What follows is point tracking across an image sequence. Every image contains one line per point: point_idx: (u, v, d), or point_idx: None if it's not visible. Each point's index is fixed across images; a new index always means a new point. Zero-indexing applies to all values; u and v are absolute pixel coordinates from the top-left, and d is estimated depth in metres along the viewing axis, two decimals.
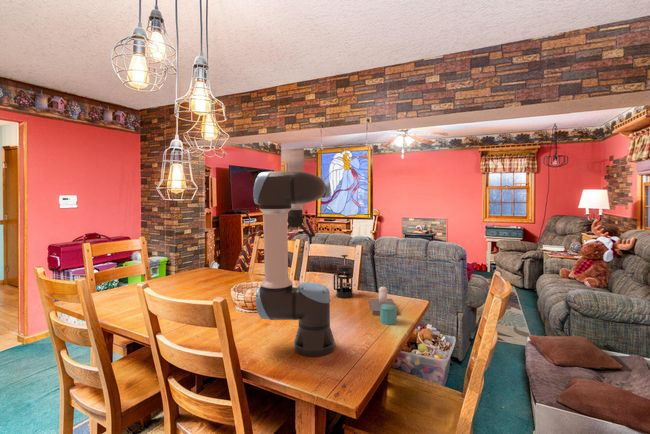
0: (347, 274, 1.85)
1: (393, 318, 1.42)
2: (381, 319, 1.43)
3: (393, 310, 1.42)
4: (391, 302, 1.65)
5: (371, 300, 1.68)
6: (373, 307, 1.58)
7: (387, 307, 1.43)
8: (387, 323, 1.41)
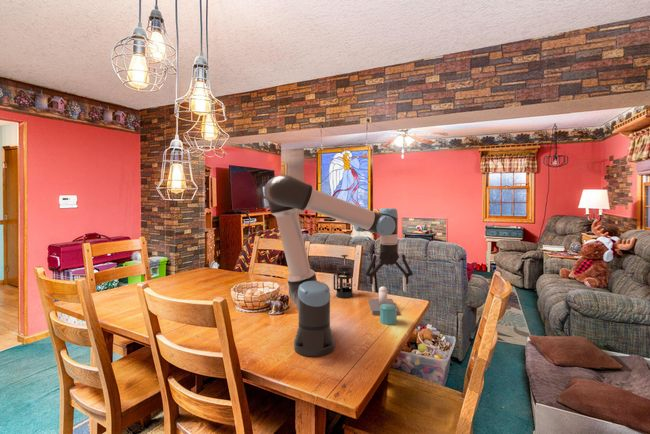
0: (347, 274, 1.85)
1: (393, 318, 1.42)
2: (381, 319, 1.43)
3: (393, 310, 1.42)
4: (391, 302, 1.65)
5: (371, 300, 1.68)
6: (373, 307, 1.58)
7: (387, 307, 1.43)
8: (387, 323, 1.41)
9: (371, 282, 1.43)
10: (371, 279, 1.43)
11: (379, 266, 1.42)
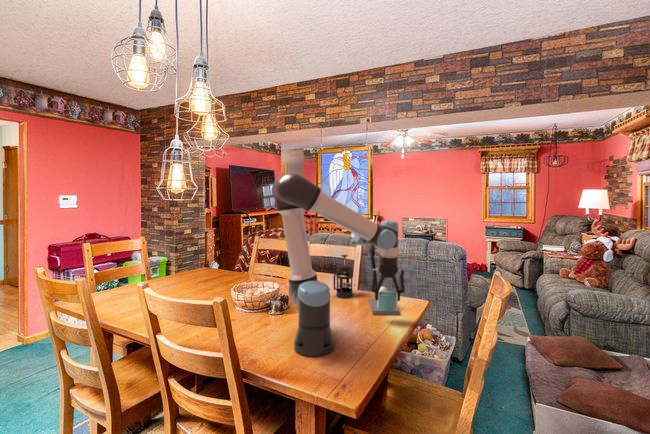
0: (347, 274, 1.85)
1: (392, 304, 1.41)
2: (380, 305, 1.43)
3: (392, 296, 1.41)
4: None
5: (371, 300, 1.68)
6: (373, 307, 1.58)
7: (386, 293, 1.42)
8: (386, 309, 1.41)
9: (376, 298, 1.44)
10: (376, 295, 1.44)
11: (381, 280, 1.43)
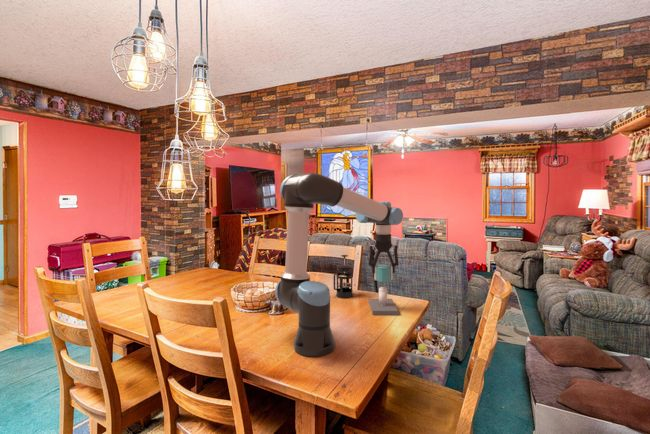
0: (347, 274, 1.85)
1: (388, 276, 1.58)
2: (377, 277, 1.60)
3: (388, 269, 1.58)
4: (391, 302, 1.65)
5: (371, 300, 1.68)
6: (373, 307, 1.58)
7: (382, 266, 1.59)
8: (382, 280, 1.58)
9: (373, 271, 1.60)
10: (373, 268, 1.60)
11: (377, 255, 1.59)
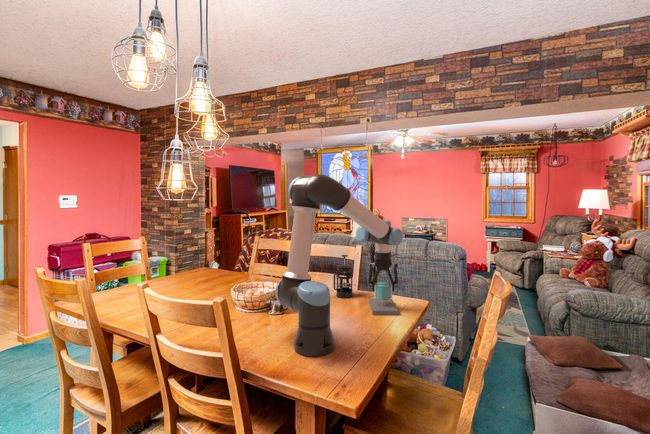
0: (347, 274, 1.85)
1: (387, 294, 1.58)
2: (376, 295, 1.60)
3: (387, 287, 1.58)
4: (391, 302, 1.65)
5: (371, 300, 1.68)
6: (373, 307, 1.58)
7: (382, 284, 1.59)
8: (382, 298, 1.58)
9: (373, 289, 1.61)
10: (373, 286, 1.61)
11: (377, 273, 1.60)
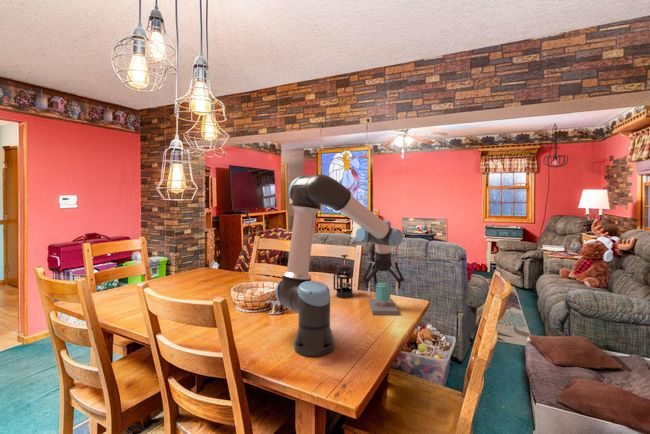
0: (347, 274, 1.85)
1: (387, 295, 1.58)
2: (376, 296, 1.60)
3: (387, 288, 1.58)
4: (391, 302, 1.65)
5: (371, 300, 1.68)
6: (373, 307, 1.58)
7: (382, 285, 1.59)
8: (382, 299, 1.58)
9: (367, 286, 1.61)
10: (367, 284, 1.61)
11: (374, 272, 1.60)
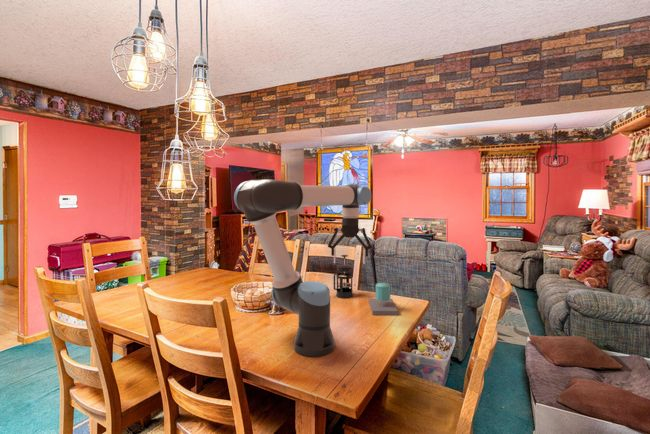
0: (347, 274, 1.85)
1: (387, 295, 1.58)
2: (376, 296, 1.60)
3: (387, 288, 1.58)
4: (391, 302, 1.65)
5: (371, 300, 1.68)
6: (373, 307, 1.58)
7: (382, 285, 1.59)
8: (382, 299, 1.58)
9: (332, 254, 1.51)
10: (332, 251, 1.51)
11: (340, 238, 1.50)
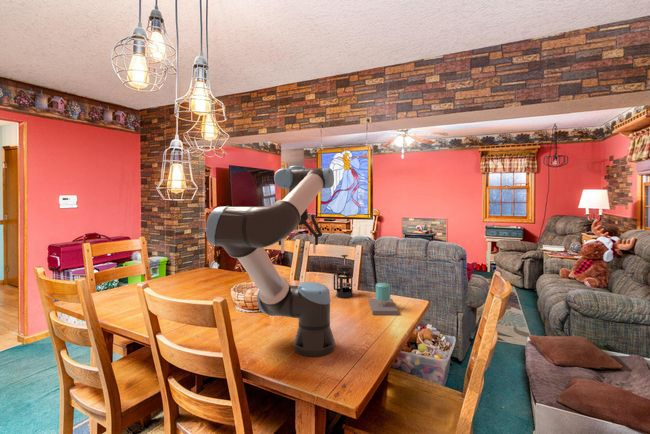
0: (347, 274, 1.85)
1: (387, 295, 1.58)
2: (376, 296, 1.60)
3: (387, 288, 1.58)
4: (391, 302, 1.65)
5: (371, 300, 1.68)
6: (373, 307, 1.58)
7: (382, 285, 1.59)
8: (382, 299, 1.58)
9: (280, 243, 1.39)
10: (280, 240, 1.39)
11: None
